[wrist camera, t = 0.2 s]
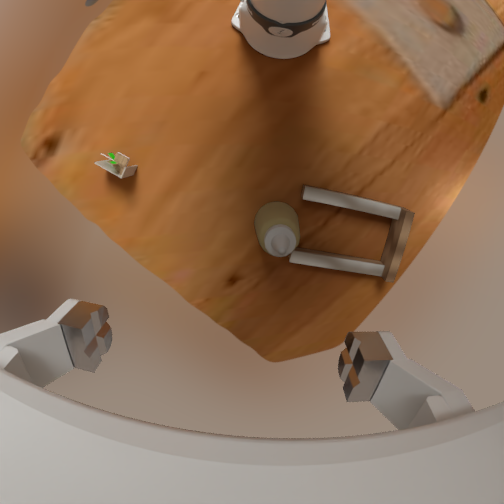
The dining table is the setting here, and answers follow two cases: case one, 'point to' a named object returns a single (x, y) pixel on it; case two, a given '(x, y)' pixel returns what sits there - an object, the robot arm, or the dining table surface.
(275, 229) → the squeeze bottle
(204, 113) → the dining table surface
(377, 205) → the cradle
